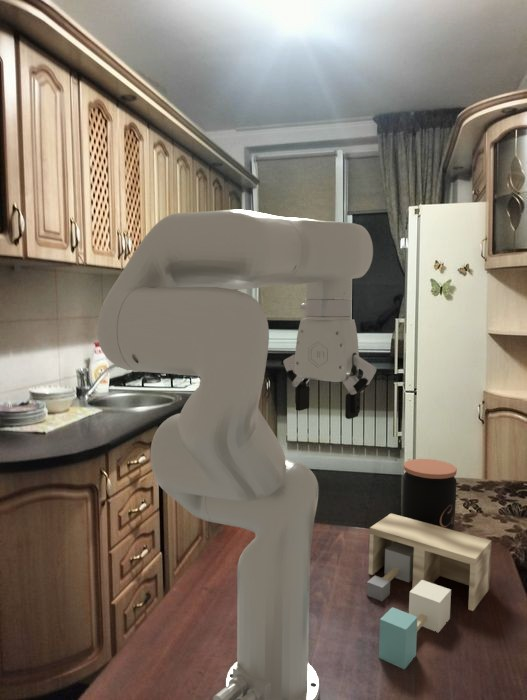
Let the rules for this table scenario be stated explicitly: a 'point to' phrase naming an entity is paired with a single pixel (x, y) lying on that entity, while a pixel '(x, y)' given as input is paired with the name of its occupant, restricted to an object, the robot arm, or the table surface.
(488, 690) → the table surface
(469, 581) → the birch shelf
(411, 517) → the coffee jar
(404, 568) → the grey block
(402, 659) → the teal and white dumbbell
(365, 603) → the table surface
